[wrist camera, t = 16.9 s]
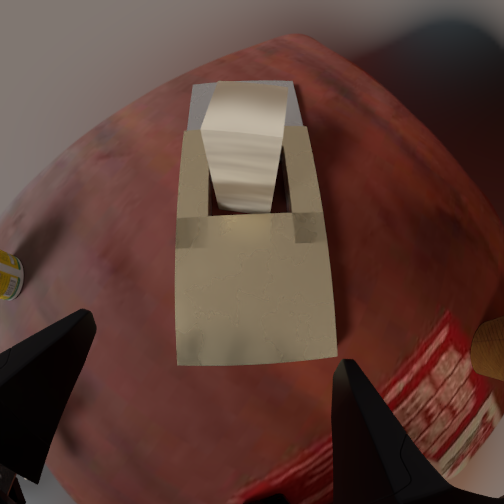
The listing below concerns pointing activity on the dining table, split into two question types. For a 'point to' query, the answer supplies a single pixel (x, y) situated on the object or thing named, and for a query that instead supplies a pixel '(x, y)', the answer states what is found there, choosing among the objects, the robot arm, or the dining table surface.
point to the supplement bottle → (10, 276)
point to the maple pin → (244, 143)
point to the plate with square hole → (252, 260)
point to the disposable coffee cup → (489, 349)
